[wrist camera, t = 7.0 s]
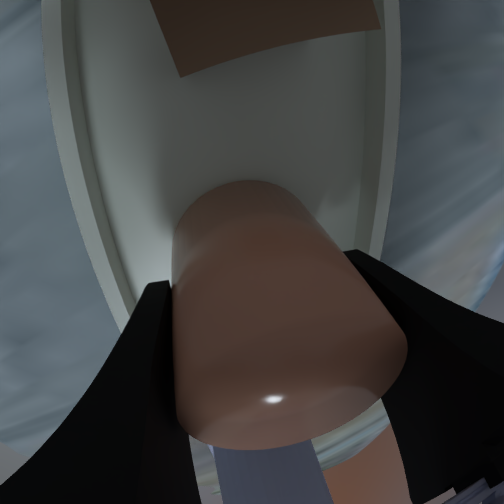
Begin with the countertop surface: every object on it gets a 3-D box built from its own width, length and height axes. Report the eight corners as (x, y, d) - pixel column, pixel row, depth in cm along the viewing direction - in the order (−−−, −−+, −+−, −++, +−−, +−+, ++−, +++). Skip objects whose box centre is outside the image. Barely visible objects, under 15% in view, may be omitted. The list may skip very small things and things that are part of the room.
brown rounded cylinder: (312, 290, 13) (379, 415, 8) (188, 315, 12) (206, 461, 7) (313, 169, 10) (435, 281, 5) (156, 196, 9) (136, 352, 4)
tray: (345, 317, 16) (359, 341, 14) (146, 353, 14) (146, 382, 13) (362, -55, 6) (389, -67, 5) (64, -43, 5) (45, -58, 3)
